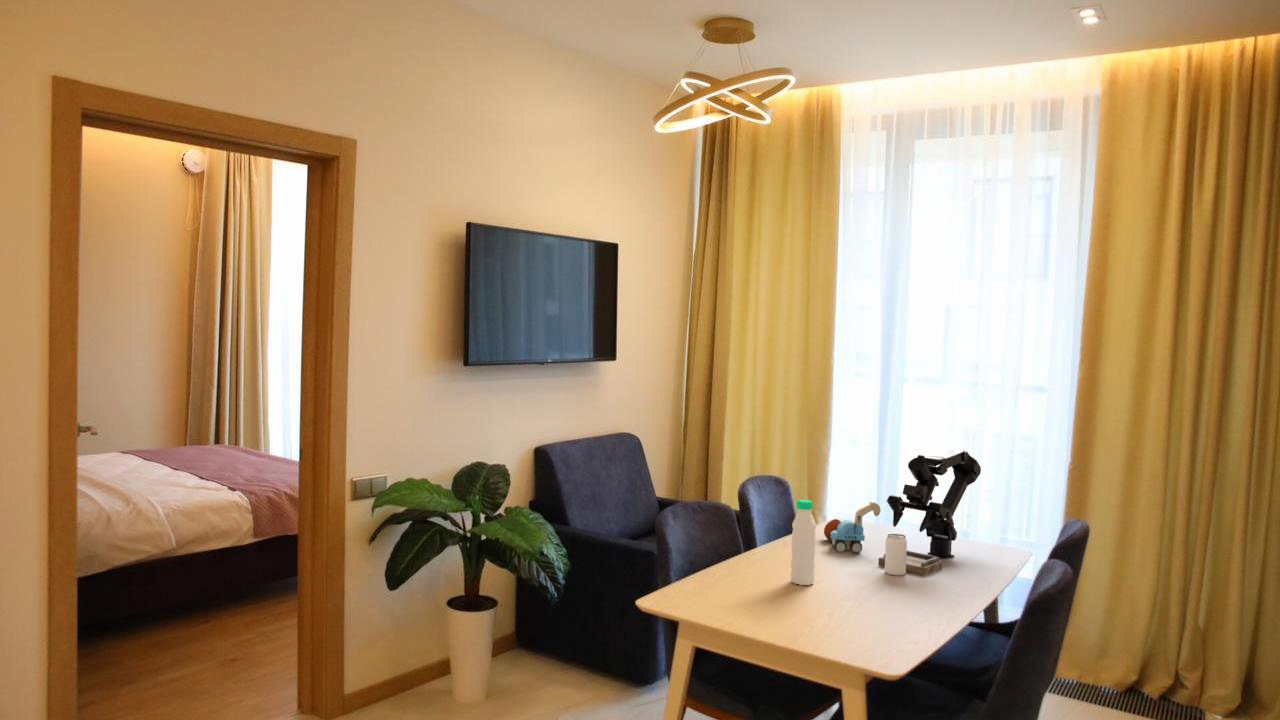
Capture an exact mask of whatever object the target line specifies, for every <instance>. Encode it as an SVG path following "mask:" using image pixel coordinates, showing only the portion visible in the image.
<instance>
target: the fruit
mask: <svg viewBox="0 0 1280 720" xmlns="http://www.w3.org/2000/svg"><path fill="white" fill-rule="evenodd" d="M840 522H842V521H841V520H840V519H837V518H835V519H831V520H830V521H829V522H827V523H826V524H825V526H824V529H823V535H824V537H825V539H827V540H828V541H830V540H831V532H832V531H836V530H837V527H838V525H839V523H840Z"/></svg>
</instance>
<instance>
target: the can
mask: <svg viewBox="0 0 1280 720" xmlns="http://www.w3.org/2000/svg"><path fill="white" fill-rule="evenodd" d="M886 536H887V537H886V538H885V549H884V550H885V552H884V554H885V567H884V572H885V574H887V575H890V576H896V577H897V576H899V577H901V576H905V574H907V572H906V554H907V551H908V550H907V549H908V545H907V544H908V541H907V538H906V535H904V534H901V533H888V534H887V535H886Z"/></svg>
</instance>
